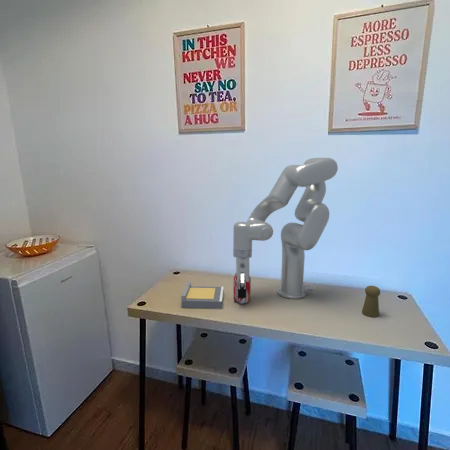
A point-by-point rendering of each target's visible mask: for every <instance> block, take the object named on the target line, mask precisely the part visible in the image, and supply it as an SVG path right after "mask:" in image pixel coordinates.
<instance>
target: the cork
mask: <svg viewBox="0 0 450 450" xmlns="http://www.w3.org/2000/svg"><path fill="white" fill-rule="evenodd" d="M364 290H365V298H364V303H363V307H362V310H361V313H362V314H361V315H363V316H365V317H367V318H373V319H375V318H378V317H380V305H379V296H380V295H381V289H380V288H379V287H378V286H376V285H367V286H365V289H364Z"/></svg>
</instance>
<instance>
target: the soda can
mask: <svg viewBox="0 0 450 450" xmlns="http://www.w3.org/2000/svg"><path fill="white" fill-rule="evenodd" d="M251 279H252V278H251V276H250V275H249V282H246V298H238V288H239V282H238V281H237V273H236V272H235V274H234V276H233V300H234V301H235V302H236V303H238V304H240V305H241V304H243V305H244V304H247V303H248V302H251V301H250V300H251V292H252V289H251V288H252V286H251V285H252V283H251V282H252V280H251ZM240 281H241V279H240ZM244 281H245V279H244ZM240 284H241V283H240Z"/></svg>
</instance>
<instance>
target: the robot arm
mask: <svg viewBox="0 0 450 450" xmlns="http://www.w3.org/2000/svg"><path fill="white" fill-rule="evenodd" d="M338 170H339V168H338V163H337V161H336V160H335V159H333V158H331V157H312V158H311V157H310V158H308V159H307V160H305V161H304V162H303V164H290V165H287V166H286V167H284V169H283V170H282V171H281V173H280V175H279V177H278V178H277V180H276V182H275V184H273V187H272V188H271V190H270V192H269V193H268V195H267V196H266V197H265V198H264V199H262V201H260V202H259V203H258V204H257V205H256V206H255V207H254V209H253V210H252V211H251V213H250V215H249V216H248V219H246V220H247V221H237V222H235V223H234V224H233V247H232V249H233V252H232V253H233V254H232V256H233V258H235V264H236V265H235V266H236V267H235V269H236V272H235V273H237V281H238V282H239V288H238V298H246V282H249V276H250V259H251V258H252V257H253V256H252V255H253V241H261V242H265V241H269V240H270V239H271V238H272V236H273V235H274V229H273V227H272V225H271V224H270V223H268V222H266V221H267V219H268V217H269V216H271V214H273V213H274V212H276V211H278V210H281V209H283V208H285V207H286V206H287V205H288V204H289V202H290V200H291V199H292V197H293V195H294V194H295V193H296V190H297V188H298V187H299V188H305V189H304V191H303V194H302V196H301V197H300V200H299V202H298V203H297V204H296V207H295V208H294V216H295V219H296V220H298V221H299V222H302V223H303V224H301V223H298V222H287V223H286V224H285V225H283V226H282V229H281V231H280V241H281V273H280V274H281V275H280V286H279V287H278V288H276V289H277V290H276V292H277V293H276V294H278V296H280V297H282V298H286V299H290V300H298V299H303V298H305V297H306V296H307V291H310V292H315V286H311V285H310V284H305V283H304V273H305V259H306V258H305V256H306V255H305V251H309V250H312V249H314V248H315V246H316V245H317V244H318V242H319V240H320V238H321V236H322V234H323V233H324V230H325V228H326V227H327V224H328V222H329V220H330V209H329V207H328V206H327V205H326V204H325V203H323V200H324V198H325V195H326V191H327V186H326V181H328V180H331V179H333V178H334V177H335V176H336V174H337V172H338ZM240 279H241V281H240ZM244 279H245V281H244ZM240 283H241V284H240Z"/></svg>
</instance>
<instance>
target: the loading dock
mask: <svg viewBox="0 0 450 450" xmlns="http://www.w3.org/2000/svg"><path fill="white" fill-rule="evenodd" d="M224 289H225V288H224V286H194V285H193V286H192V283H191V281H187V283H186V284H185V286H184V289H183V291H182V293H181V296H180V297H181V300H180V301H181V309H182V308H183V309H208V310H209V309H211V310H212V309H215V310H217V309H219V310H222V309H223V303H224V302H223V301H224V294H225V293H224V291H225V290H224Z"/></svg>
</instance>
